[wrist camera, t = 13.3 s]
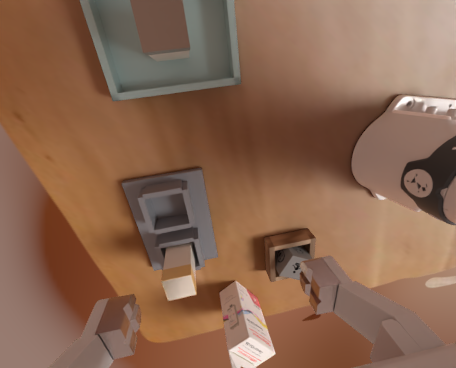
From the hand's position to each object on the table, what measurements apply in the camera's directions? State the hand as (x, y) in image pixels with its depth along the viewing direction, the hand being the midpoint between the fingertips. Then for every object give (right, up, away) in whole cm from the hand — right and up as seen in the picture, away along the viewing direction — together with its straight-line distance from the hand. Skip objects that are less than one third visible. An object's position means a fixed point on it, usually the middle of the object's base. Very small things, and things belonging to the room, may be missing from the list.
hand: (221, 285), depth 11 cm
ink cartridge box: (+3, -19, +37) cm, 42 cm away
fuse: (-8, -6, +28) cm, 30 cm away
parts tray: (-7, +23, +16) cm, 28 cm away
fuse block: (-9, -2, +27) cm, 28 cm away
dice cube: (+12, -9, +34) cm, 37 cm away
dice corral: (+12, -9, +34) cm, 37 cm away
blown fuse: (-7, +22, +15) cm, 28 cm away
